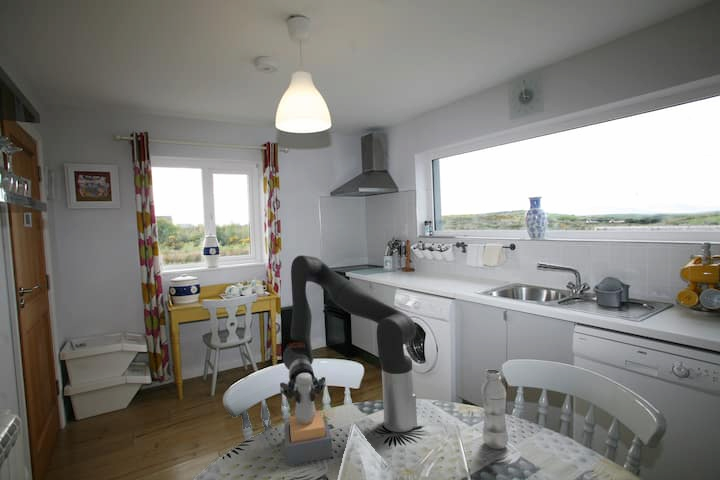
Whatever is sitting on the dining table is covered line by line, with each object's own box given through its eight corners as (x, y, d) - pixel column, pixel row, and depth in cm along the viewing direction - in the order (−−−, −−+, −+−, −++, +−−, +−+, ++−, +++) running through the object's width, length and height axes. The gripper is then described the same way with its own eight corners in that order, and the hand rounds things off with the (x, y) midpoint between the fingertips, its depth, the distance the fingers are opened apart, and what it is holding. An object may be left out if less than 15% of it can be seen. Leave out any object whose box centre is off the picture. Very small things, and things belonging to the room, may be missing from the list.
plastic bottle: (482, 450, 97) (479, 375, 97) (483, 436, 104) (480, 366, 103) (509, 454, 95) (506, 377, 95) (508, 440, 101) (505, 368, 101)
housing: (326, 433, 109) (325, 416, 109) (332, 456, 98) (331, 438, 98) (285, 440, 107) (284, 423, 107) (286, 465, 95) (285, 446, 95)
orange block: (321, 423, 107) (320, 411, 107) (325, 440, 99) (324, 427, 99) (289, 428, 105) (289, 416, 105) (291, 445, 97) (290, 432, 97)
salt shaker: (312, 427, 99) (310, 379, 98) (292, 425, 100) (289, 378, 99) (319, 416, 104) (317, 370, 104) (300, 414, 106) (297, 370, 105)
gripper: (277, 365, 114) (278, 388, 97) (323, 359, 117) (331, 381, 100) (278, 389, 114) (279, 416, 98) (324, 383, 118) (332, 408, 101)
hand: (305, 398), depth 99 cm, fingers closed on salt shaker, 3 cm apart
